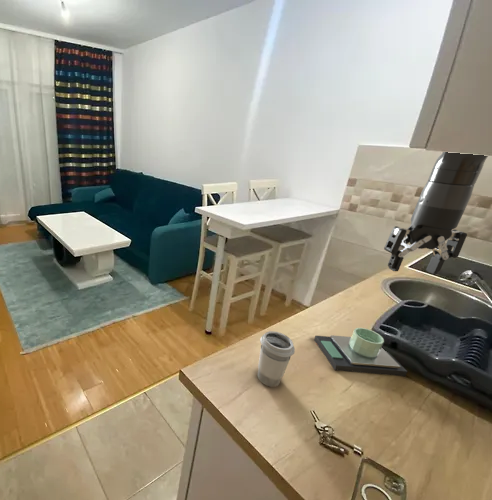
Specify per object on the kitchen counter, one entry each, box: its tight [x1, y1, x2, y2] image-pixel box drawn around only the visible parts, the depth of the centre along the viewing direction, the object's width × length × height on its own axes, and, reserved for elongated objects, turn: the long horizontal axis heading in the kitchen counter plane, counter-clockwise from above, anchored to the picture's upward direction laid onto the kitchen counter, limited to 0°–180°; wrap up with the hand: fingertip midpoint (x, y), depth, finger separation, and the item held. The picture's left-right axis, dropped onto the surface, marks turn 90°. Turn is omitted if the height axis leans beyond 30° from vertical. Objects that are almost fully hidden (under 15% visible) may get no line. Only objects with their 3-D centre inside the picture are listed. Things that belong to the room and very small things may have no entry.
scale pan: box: [329, 334, 400, 368], centre depth 73 cm, size 11×10×1 cm
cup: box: [257, 330, 296, 388], centre depth 65 cm, size 7×7×12 cm
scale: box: [313, 335, 408, 377], centre depth 74 cm, size 16×11×3 cm
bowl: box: [349, 327, 385, 357], centre depth 72 cm, size 6×6×4 cm
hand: (411, 271), depth 68 cm, fingers open, 8 cm apart
